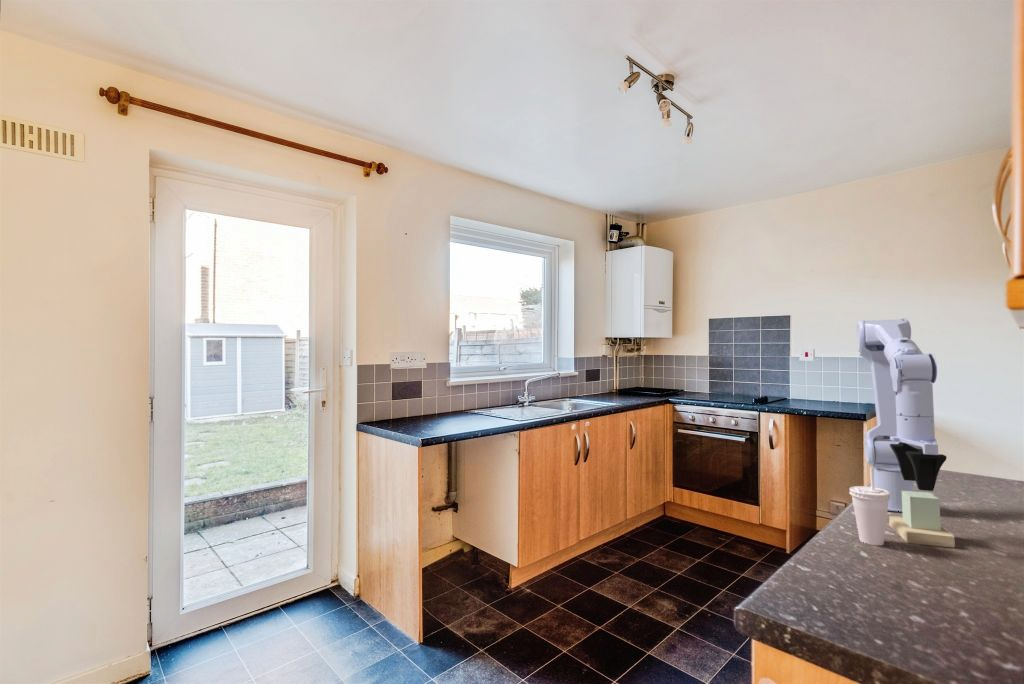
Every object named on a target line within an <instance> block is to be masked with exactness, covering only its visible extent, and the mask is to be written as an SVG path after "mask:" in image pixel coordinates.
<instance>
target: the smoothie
mask: <svg viewBox="0 0 1024 684" xmlns="http://www.w3.org/2000/svg"><path fill="white" fill-rule="evenodd" d="M869 475H870V476H869V477H870V486H865V485H864V486H863V485H856V486H851V487H849V495H850V496H851V499H852V505H853V511H854V515H855V522H856V527H857V533H858V537H859V538H858V539H859V541H860V542H861V543H863V542H864V543H863V544H866V543H867V544H866V545H871V546H884V544H885V536H886V526H887V517H888V511H887V510H888V501H889V499H891V497H890V492H888V491H886V490H883V489H879V488H874V467H873V466H872V467H871V466H870V467H869Z"/></svg>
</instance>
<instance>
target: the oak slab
mask: <svg viewBox="0 0 1024 684" xmlns="http://www.w3.org/2000/svg"><path fill="white" fill-rule="evenodd" d="M888 518H889V519H888V522H889V523H888V525H889V526H890V528H892V530H893V531H895V533H897V534H898V535H899V537H901V538H902V539H903V540H904V541H905V542H906V543H907V544H915V545H925V546H935V547H944V548H955V547H956V544H955V543H956V542H955V536H954V535H952V534H951V533H950V532H949V531H947V530H946V529H945V528H943V527H942V526H941V531H936V530H925V529H915V528H911V527H909V526H908V525H907V524H906V523H905V522H904V521H903V516H895V515H888Z"/></svg>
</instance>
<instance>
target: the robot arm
mask: <svg viewBox="0 0 1024 684" xmlns="http://www.w3.org/2000/svg"><path fill="white" fill-rule="evenodd" d="M911 326H912V325H911V323H910V321H909V320H908V319H907V318H896V319H877V320H876V319H874V320H871V319H870V320H863V319H861V320H859V321H858V322H857V324H856V329H855V331H856V343H857V350H858V352H859V356H860V357H863V358H864V359H866V360H867V361H868V363H869V367H870V371H871V372H870V373H871V381H872V387H873V388H872V389H873V390H872V391H873V398H874V407H875V415H876V424H877V425H876V426H874V427H872V428H870V429H869V430H868V431H866V432H865V435H864V457H865V461H866V463H867V464H868V465H870V466H872V467H873V468H874V488H879V489H883V490H886V491H888V492H890V497H891V499H889V501H888V510H887V512H898V511H899V513H903V512H902V491H914V492H915V488H914V483H916V487H917V489H918V490H919V491H924V492H926V491H927V492H928V491H929V492H933V491H934V489H935V487H936V483H937V478H938V475H939V472H940V470H941V468H942V466H943V465H944V463H945V462H946V461H947V455H945V454H942V453H941V454H940V453H939V444H938V443H937V438H936V435H935V434H936V433H935V431H936V429H935V410H934V389H933V388H934V387H933V385H934V384H935V382H936V381H937V377H938V365H937V360H936V357H935V356H934V354H933V353H931V352H929V353H923V352H922V350H921V349H920V348H919V347H918V345H917V344H916V342H915V341H913V340H912V339H911V337H912V327H911Z"/></svg>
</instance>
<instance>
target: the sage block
mask: <svg viewBox="0 0 1024 684" xmlns="http://www.w3.org/2000/svg"><path fill="white" fill-rule="evenodd" d="M940 504H941V503H940V498H938V497H937V496H935V495H934V494H933V493H931V492H928V491H927V492H926V491H924V492H923V491H915V490H914V491H902V512H901V513H902V517H903V521H904V522H905V523H906V524H907V525H908V526H909V527H911V528H915V529H925V530H936V531H941V527H942V526H941V525H942V524H941V505H940Z"/></svg>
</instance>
